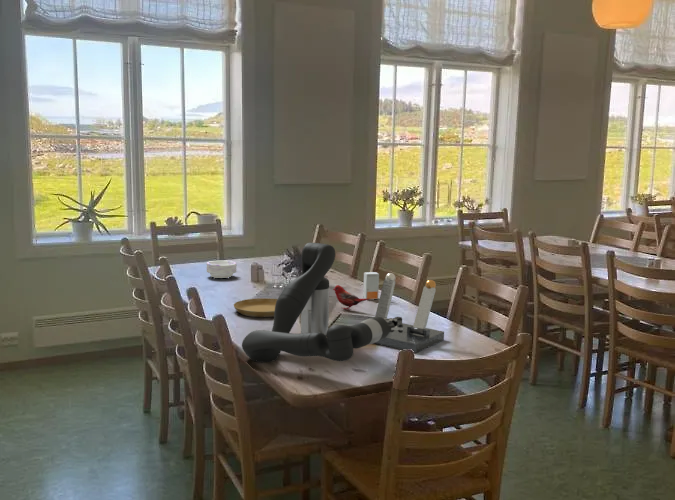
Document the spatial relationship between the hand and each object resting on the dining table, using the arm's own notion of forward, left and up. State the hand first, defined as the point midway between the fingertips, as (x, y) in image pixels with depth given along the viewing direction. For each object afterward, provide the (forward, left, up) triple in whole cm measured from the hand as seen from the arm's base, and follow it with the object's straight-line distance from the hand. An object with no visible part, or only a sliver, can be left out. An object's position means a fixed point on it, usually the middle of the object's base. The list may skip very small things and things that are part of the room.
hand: (399, 319), depth 213 cm
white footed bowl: (-14, +143, -11) cm, 144 cm away
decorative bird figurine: (+13, +56, -11) cm, 58 cm away
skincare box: (+32, +71, -11) cm, 79 cm away
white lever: (+5, +20, -8) cm, 22 cm away
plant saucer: (-21, +69, -12) cm, 73 cm away
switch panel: (+8, +13, -11) cm, 19 cm away
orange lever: (+11, +5, -8) cm, 15 cm away
